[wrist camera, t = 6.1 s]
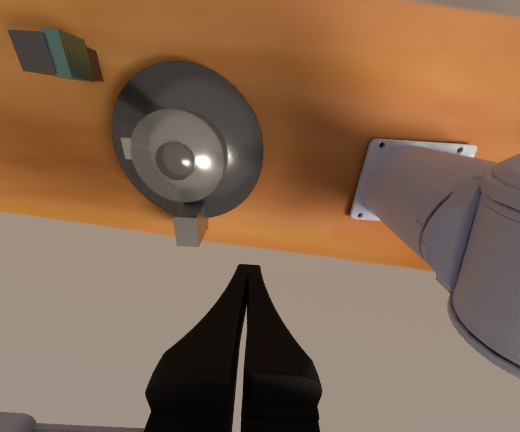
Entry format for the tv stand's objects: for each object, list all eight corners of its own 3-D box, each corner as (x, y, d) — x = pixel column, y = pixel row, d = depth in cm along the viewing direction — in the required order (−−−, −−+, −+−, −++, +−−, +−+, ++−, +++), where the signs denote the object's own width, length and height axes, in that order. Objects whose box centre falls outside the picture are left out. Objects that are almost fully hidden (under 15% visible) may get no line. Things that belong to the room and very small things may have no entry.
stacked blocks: (106, 48, 16) (56, 28, 12) (115, 85, 17) (70, 77, 13) (69, 46, 16) (5, 25, 12) (79, 82, 17) (24, 74, 13)
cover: (228, 113, 17) (221, 113, 14) (227, 194, 20) (221, 208, 17) (140, 105, 16) (115, 104, 14) (154, 188, 20) (135, 201, 17)
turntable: (268, 69, 16) (269, 58, 13) (258, 229, 23) (257, 250, 19) (99, 58, 16) (56, 44, 13) (139, 223, 22) (117, 242, 19)
